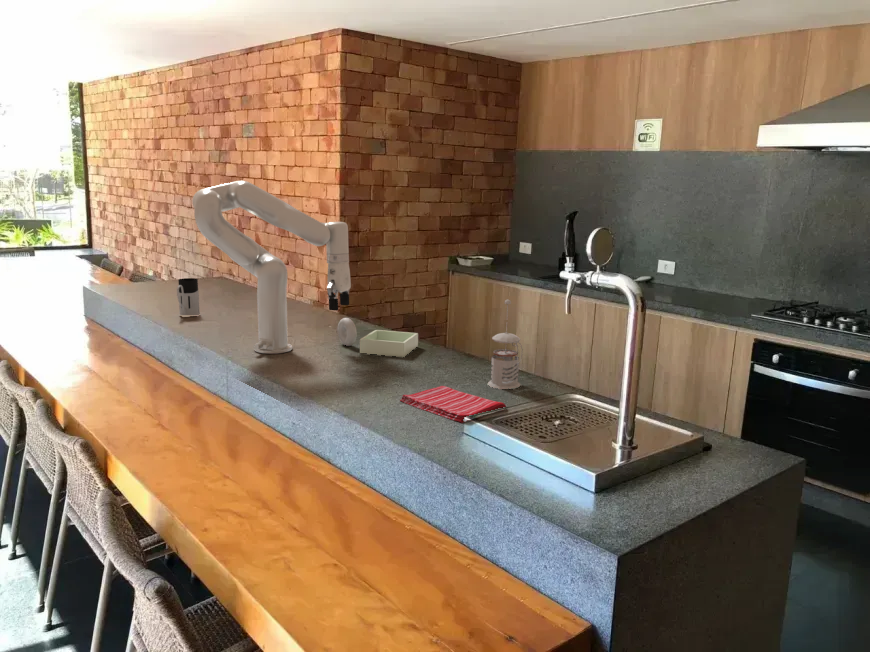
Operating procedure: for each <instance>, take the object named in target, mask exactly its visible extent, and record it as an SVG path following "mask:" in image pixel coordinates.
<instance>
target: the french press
mask: <svg viewBox="0 0 870 652" xmlns="http://www.w3.org/2000/svg"><path fill="white" fill-rule="evenodd" d="M504 304H505V305H506V306H507V307H506V319H508V317H509V316H508V311H509V305H511V304H512V300H510V299H506V300H504ZM505 324H506V325H505V326H506V329H505V330H506V331H505V332H501V333H500V332H499V333H496V334H495V335H493V336H492V337H491V339H492V340H493V342H495V343H500V344H511V345H512V347H516V349H517V350H514V349H507V346H505V349H504V348H503V349H502V348H501V349H500V348H499V349H495V350H493V351H492V352H493V355H492V356H491V368H490V369H491V371H490V373H491V375H490V378H491V379H490V380H489V381H488V382H487V386H488V385H489V386H490V388H492V387H493V388H492V389H495V388H498V389H497V390H502V389H508V388H509V389H511V388H516V387H519V386H520V385H521V386H522V384H521V383H520V382H519V381H518V380H519V364H520V363H521V361H522V359H523V350H524V349H523V346H522V344H521V342H520V341H521V338H520V337H519V336H517V335H516V334H514V333H509V332H508V323H505ZM513 344H515V345H513ZM518 344H519V345H520V348H521V355H520V358H519V346H518ZM513 357H514V358H513ZM500 359H503V360H500ZM513 359H514V360H513ZM519 359H520V360H519ZM489 386H488V387H489Z"/></svg>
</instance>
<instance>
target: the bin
mask: <svg viewBox="0 0 870 652" xmlns="http://www.w3.org/2000/svg"><path fill="white" fill-rule="evenodd" d="M416 347H419V333H418V332H408V331H394V330H384V329H383V330H382V329H375V330H373V331H371V332H369V333H368V334H366V335H364V336H362V337H361V338H360V339H359V354H360V353H367V354H366V355H370V354H377V355H376V356H381V355H385V356H384V357H392V356H396V357H395V358H403V357H404V358H406V357H407V356H408V355H410V354H411V353H412V352H413V351H412V350H413V349H415V348H416ZM416 349H417V348H416ZM416 349H415V350H416ZM411 351H412V352H411ZM410 352H411V353H410ZM409 353H410V354H409ZM407 354H408V355H407ZM406 355H407V356H406ZM405 356H406V357H405Z"/></svg>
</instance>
